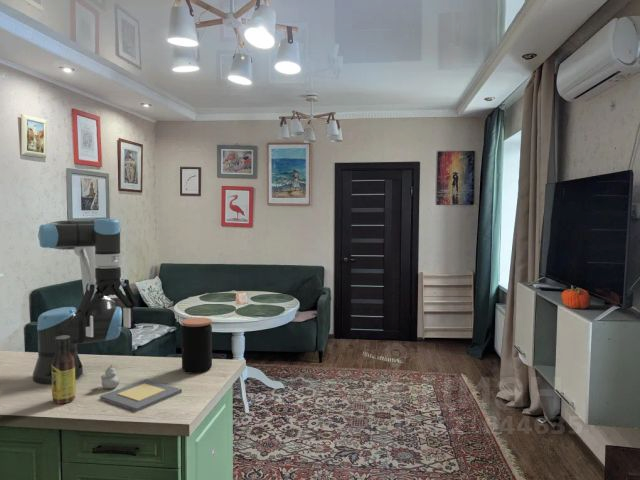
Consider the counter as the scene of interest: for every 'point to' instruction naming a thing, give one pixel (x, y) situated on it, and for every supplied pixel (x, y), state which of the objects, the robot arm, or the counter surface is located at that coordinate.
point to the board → (141, 394)
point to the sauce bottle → (63, 372)
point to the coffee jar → (196, 345)
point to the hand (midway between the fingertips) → (109, 331)
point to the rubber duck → (110, 378)
